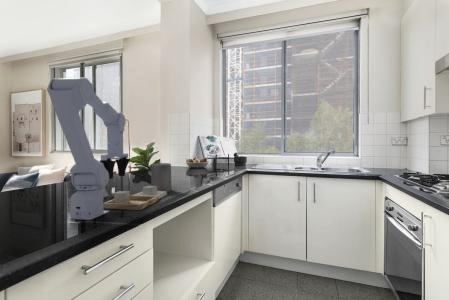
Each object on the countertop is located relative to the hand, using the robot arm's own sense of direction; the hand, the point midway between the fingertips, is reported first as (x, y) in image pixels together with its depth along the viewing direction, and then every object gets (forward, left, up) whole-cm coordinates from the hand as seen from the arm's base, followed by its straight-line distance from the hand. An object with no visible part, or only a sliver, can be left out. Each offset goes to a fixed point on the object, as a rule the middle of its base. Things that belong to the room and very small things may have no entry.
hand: (115, 177), depth 95 cm
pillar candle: (+26, -7, -11) cm, 29 cm away
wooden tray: (-2, -8, -10) cm, 13 cm away
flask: (+8, +14, -11) cm, 19 cm away
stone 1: (-2, -4, -10) cm, 11 cm away
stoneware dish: (+11, -9, -10) cm, 17 cm away
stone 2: (+11, -9, -10) cm, 17 cm away
